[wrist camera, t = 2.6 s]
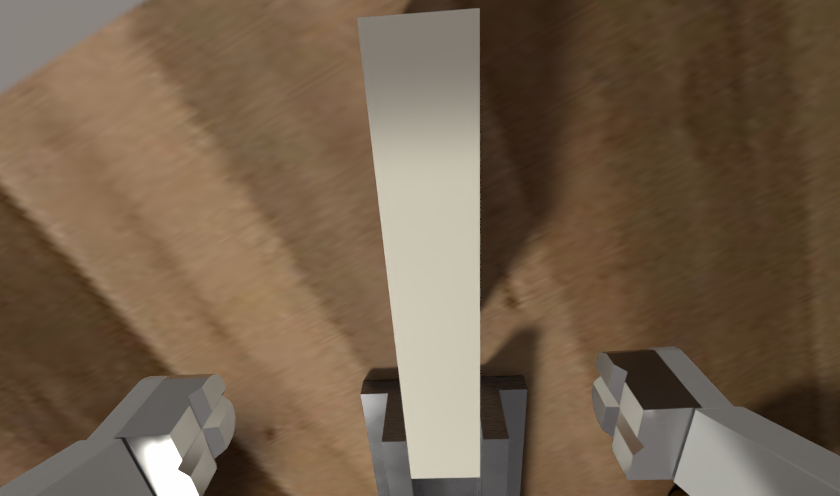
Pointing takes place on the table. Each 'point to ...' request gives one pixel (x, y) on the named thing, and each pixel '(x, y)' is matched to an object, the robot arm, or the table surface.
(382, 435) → the floor track
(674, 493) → the dark grey small vase
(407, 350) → the door panel
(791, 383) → the table surface
